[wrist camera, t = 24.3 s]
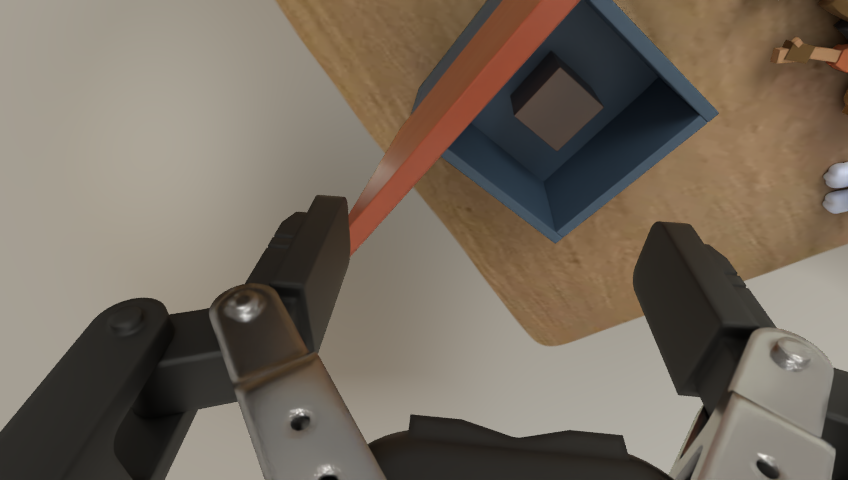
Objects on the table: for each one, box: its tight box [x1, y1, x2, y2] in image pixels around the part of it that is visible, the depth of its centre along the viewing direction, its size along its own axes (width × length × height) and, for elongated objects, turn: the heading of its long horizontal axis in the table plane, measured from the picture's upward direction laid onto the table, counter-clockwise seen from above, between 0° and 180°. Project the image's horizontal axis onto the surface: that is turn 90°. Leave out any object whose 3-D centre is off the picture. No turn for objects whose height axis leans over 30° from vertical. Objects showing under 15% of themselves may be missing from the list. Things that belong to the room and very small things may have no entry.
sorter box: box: [411, 0, 719, 243], centre depth 33 cm, size 15×14×9 cm
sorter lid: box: [348, 0, 580, 257], centre depth 21 cm, size 15×14×1 cm
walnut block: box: [510, 51, 604, 151], centre depth 34 cm, size 4×4×4 cm
